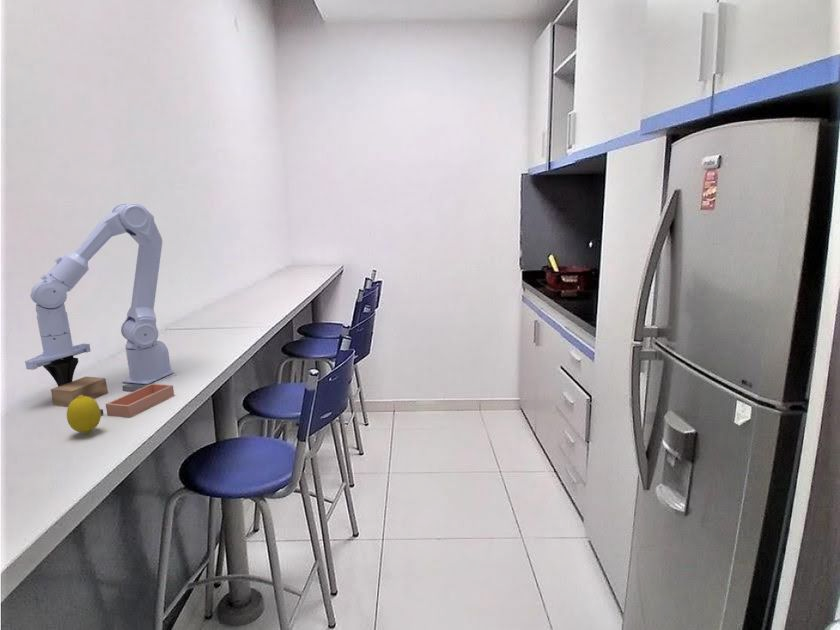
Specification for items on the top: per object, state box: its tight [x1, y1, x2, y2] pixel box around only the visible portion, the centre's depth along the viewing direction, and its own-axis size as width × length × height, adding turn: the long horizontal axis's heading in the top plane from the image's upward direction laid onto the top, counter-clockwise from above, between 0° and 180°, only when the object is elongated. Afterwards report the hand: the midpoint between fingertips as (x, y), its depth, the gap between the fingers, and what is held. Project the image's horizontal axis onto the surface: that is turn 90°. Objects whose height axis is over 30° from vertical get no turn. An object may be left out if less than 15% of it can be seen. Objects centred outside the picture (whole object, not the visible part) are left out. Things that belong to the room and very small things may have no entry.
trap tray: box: [105, 383, 175, 418], centre depth 117 cm, size 13×6×2 cm, turn 164°
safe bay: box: [100, 383, 146, 416], centre depth 120 cm, size 16×8×1 cm, turn 164°
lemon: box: [66, 395, 102, 435], centre depth 102 cm, size 6×6×8 cm
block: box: [50, 376, 109, 408], centre depth 122 cm, size 9×6×4 cm, turn 164°
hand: (65, 389), depth 123 cm, fingers closed
